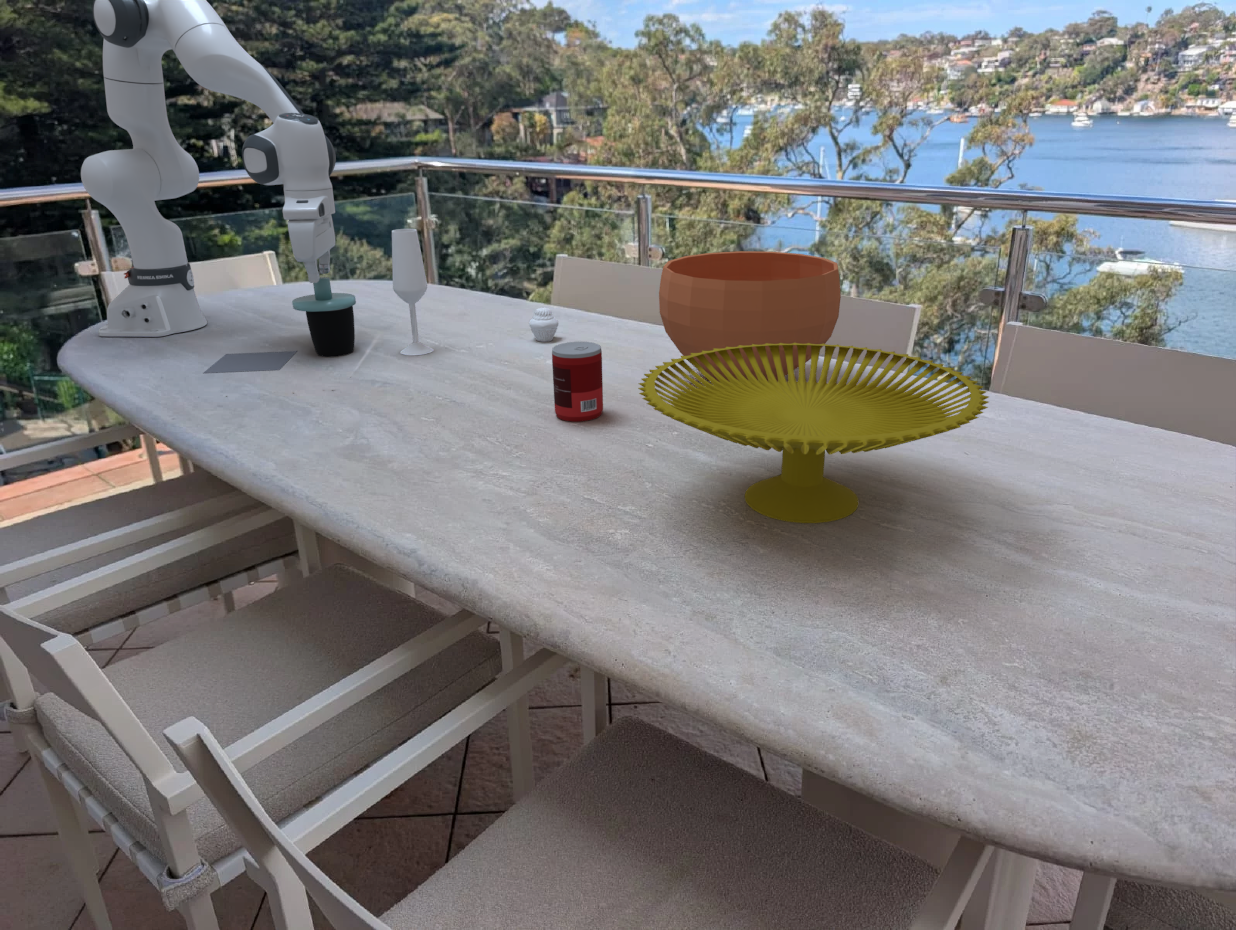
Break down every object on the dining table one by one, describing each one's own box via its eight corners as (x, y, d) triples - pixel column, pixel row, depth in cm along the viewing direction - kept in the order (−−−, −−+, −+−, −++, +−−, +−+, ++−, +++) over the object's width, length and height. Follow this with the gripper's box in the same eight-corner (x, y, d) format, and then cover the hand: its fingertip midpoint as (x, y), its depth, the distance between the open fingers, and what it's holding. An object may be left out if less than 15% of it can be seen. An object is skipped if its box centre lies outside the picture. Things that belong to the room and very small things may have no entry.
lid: (286, 312, 174) (282, 285, 172) (300, 300, 185) (296, 274, 184) (350, 310, 175) (347, 283, 173) (360, 297, 186) (357, 272, 185)
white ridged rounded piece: (557, 343, 189) (556, 309, 186) (528, 343, 189) (526, 310, 186) (560, 336, 195) (558, 303, 192) (531, 336, 195) (530, 304, 192)
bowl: (835, 413, 144) (844, 283, 136) (647, 405, 149) (646, 280, 142) (832, 362, 171) (840, 251, 163) (674, 357, 177) (674, 250, 169)
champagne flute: (437, 346, 188) (426, 227, 179) (428, 355, 182) (415, 232, 173) (406, 346, 189) (393, 228, 180) (395, 355, 183) (381, 232, 174)
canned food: (610, 408, 148) (608, 342, 144) (592, 424, 141) (590, 355, 137) (566, 404, 151) (563, 339, 147) (547, 420, 144) (543, 352, 140)
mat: (203, 377, 171) (202, 373, 170) (226, 357, 184) (226, 353, 183) (279, 373, 172) (279, 369, 171) (297, 354, 185) (297, 350, 184)
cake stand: (627, 448, 131) (625, 347, 125) (901, 436, 133) (911, 336, 128) (657, 588, 94) (657, 452, 88) (1038, 567, 96) (1061, 433, 90)
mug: (367, 355, 183) (361, 305, 179) (327, 364, 177) (319, 312, 174) (336, 345, 191) (330, 297, 187) (297, 354, 185) (289, 304, 181)
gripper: (306, 199, 183) (315, 268, 188) (279, 211, 164) (291, 288, 169) (338, 198, 183) (346, 267, 188) (315, 210, 164) (325, 287, 169)
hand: (320, 277), depth 178 cm, fingers open, 8 cm apart
